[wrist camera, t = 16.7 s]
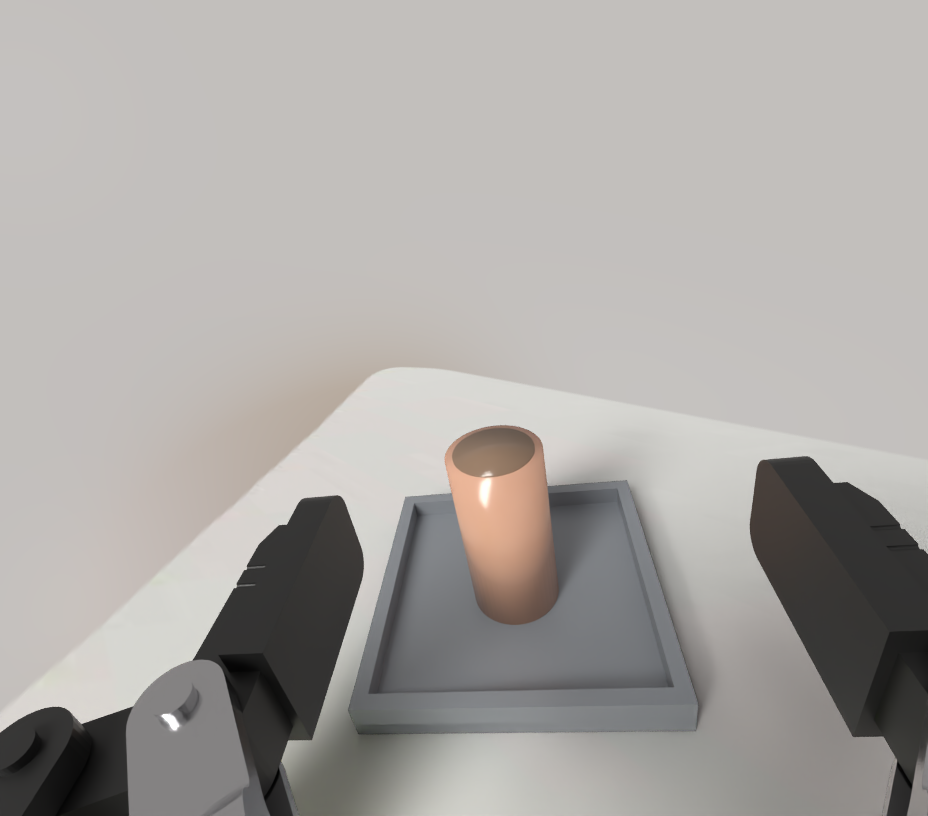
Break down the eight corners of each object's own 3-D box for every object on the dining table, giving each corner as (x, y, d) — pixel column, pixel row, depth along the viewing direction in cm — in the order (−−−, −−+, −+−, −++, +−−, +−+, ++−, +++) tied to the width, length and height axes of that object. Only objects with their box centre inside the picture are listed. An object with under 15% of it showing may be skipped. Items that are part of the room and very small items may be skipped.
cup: (555, 555, 33) (540, 419, 28) (561, 623, 29) (545, 476, 24) (477, 560, 34) (449, 428, 29) (472, 626, 30) (438, 485, 25)
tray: (626, 502, 38) (626, 480, 37) (695, 730, 24) (698, 704, 23) (410, 517, 40) (405, 496, 39) (358, 734, 26) (347, 710, 25)
